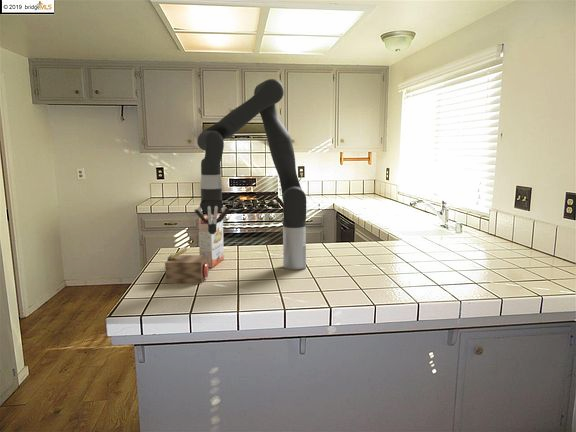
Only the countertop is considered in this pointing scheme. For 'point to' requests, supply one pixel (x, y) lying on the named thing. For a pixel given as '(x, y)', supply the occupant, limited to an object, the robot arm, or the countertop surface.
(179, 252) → the lever
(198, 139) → the robot arm
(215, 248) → the cracker box
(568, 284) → the countertop surface
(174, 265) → the block
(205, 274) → the lynch pin
